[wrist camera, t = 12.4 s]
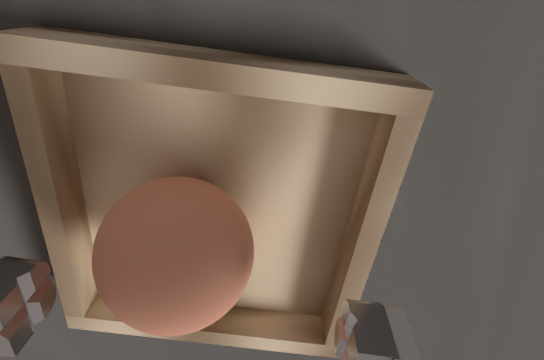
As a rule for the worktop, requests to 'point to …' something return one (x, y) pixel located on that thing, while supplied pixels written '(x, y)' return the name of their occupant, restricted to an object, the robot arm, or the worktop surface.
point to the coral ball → (172, 256)
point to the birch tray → (215, 165)
